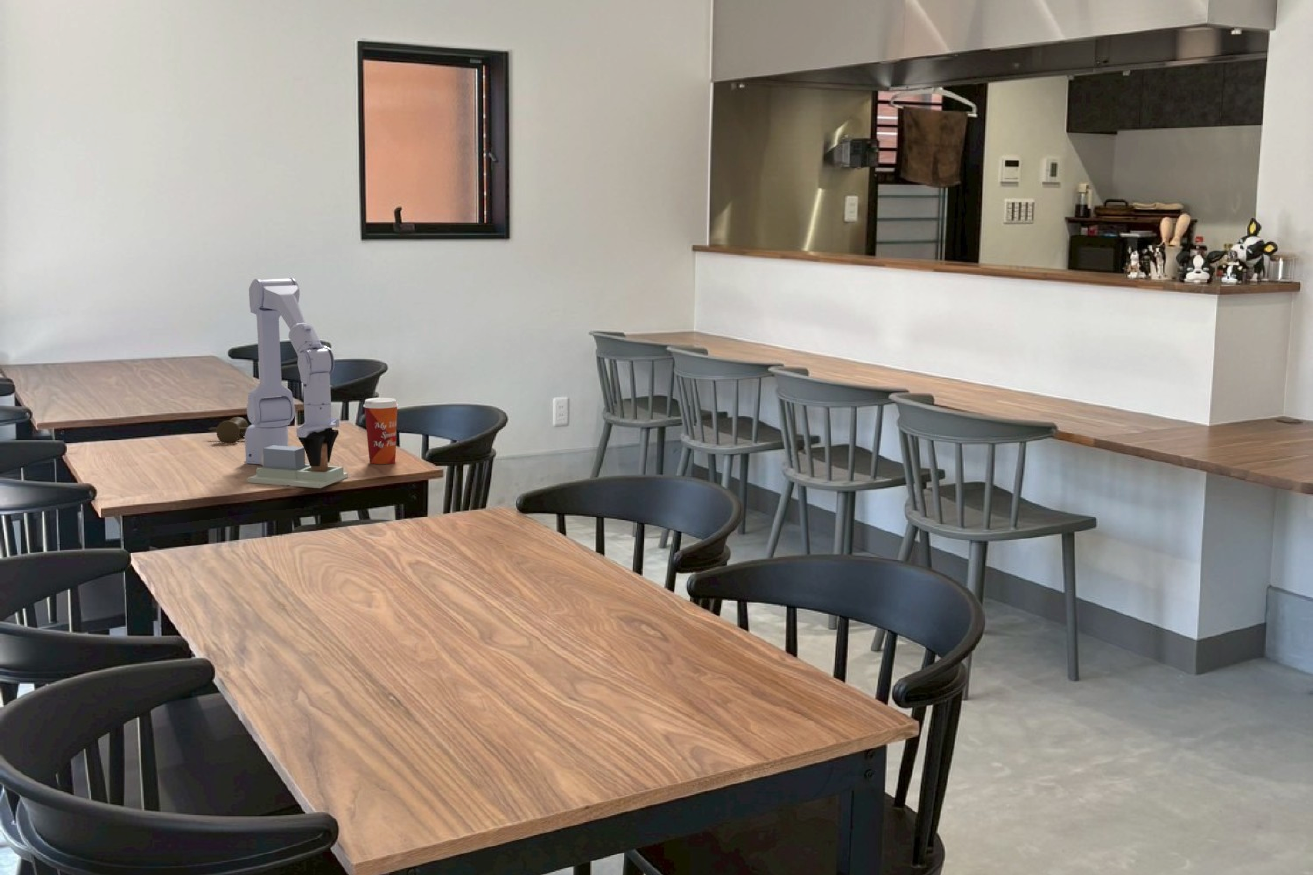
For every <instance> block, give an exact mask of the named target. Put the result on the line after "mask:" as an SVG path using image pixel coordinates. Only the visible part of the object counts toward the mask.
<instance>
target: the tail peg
mask: <svg viewBox="0 0 1313 875" xmlns="http://www.w3.org/2000/svg"><path fill="white" fill-rule="evenodd" d="M328 466H329V463H328V458H327V444H326V443H323V444H322V449H321V462H320V466H311V471H314V472H326V471H328Z"/></svg>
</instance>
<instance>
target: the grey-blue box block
mask: <svg viewBox="0 0 1313 875" xmlns="http://www.w3.org/2000/svg"><path fill="white" fill-rule="evenodd" d="M305 464H306V451H305V449H304V447H303V446H291V445H290V446H289V445H288V446H277V445H272V446H269V447H266V448H263V455H262V457H261V464H260V465H261V466H262V467H263V468H274V469H287V470H301V469H304V468H305Z"/></svg>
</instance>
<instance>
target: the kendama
mask: <svg viewBox="0 0 1313 875" xmlns="http://www.w3.org/2000/svg"><path fill="white" fill-rule="evenodd" d="M249 426H250V425H249V423H248V422H247V420H246V419H245V418H243V417H240V416H236V417H235V416H234V417H232V418H231V419H230V420H223V421H221V422H219V424H218V425H217V427H209V428H208V430H209V431H211V432H212V431H214V432H215V433H216V438H218V440H219V441H220V442H222V443H223V444H234V443H236V442H237V441H238V440H239V438H243V437H242V436H244V437H245V433H246V430H247V428H248V427H249Z"/></svg>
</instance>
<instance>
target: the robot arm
mask: <svg viewBox="0 0 1313 875" xmlns="http://www.w3.org/2000/svg"><path fill="white" fill-rule="evenodd" d="M248 296H249V297H248V298H249V299H248V300H249V308H250V313H251V314H254V315H256V328H257V349H258V350H257V352H258V369H259V370H258V372H259V384H257V385H256V386H255V387H254V388H253V389H252V390H250V391H249V392H248V395H247V396H248V397H247V406H246V415H247V419H248V421H249V423H251V424H250V425H248V426H249V427H248V428H247V430H246V433H245V436H244V448H245V450H244V451H245V460H244V462H243V463H244V464H251V465H262V464H261V457H262V455H263V448H266V447H269V446H272V445H277V446H289V431H288V430H289V427H288V426H290V425H291V422H292V421H293V419H294V418H295V417H296V416H295V415H296V407H295V402H294V397H293V392H292V390H290V389H289V388H288V387H286V386H285V385H283V384H282V380H283V379H282V362H281V359H282V358H281V339H280V338H281V337H280V317H281V318H282V319H283V321H284V323H285V324H286V325H287V327H288V329H289V331H288V338H289V341H290V343H291V345H292V346H293V349H294V351H295V353H296V356H297V362H296V363H297V367H298V372H299V375H300V376H299V377H300V382H301V383H302V384H303V385H302V386H303V387H302V388H303V391H302V392H303V411H304V412H303V414H304V415H303V416H304V423H302V424H301V426H298V427H296V431H295V432H296V438H297V439H298V440H299V442H300V443H301V445H302V447H304V449H305V455H306V457H307V461H308V464H310V466H320V462H321V449H322V444H323V443H326V444H327V458H328V464H329V463H330V461H331V458H332V452H333V449H334V448H333V447H334V444H335V442H336V439H337V438H338V435H339V432H340V431H339V429H333V428H339V427H340V418H339V417H332V401H331V400H332V395H331V374H333V372H334V370H335V357H334V353H333V352H332V351H333V350H332V349H331V348H330V347H328V346H326V345H325V344H322V342H321V340H320V338H319V336H318V335H317V333H316V331H315V328H314V327H313V326H312V324H310V323H306V321H305V319H304V318H305V317H304V316H303V313H302V311H301V308H300V305H299V302H300V301H299V300H300V286H299V283H298V282H297V281H296V279H295V278H293V277H289V278H266V279H265V278H263V279H262V278H261V279H259V278H254V279H253V280H252V282H250V285H249V288H248Z"/></svg>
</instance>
